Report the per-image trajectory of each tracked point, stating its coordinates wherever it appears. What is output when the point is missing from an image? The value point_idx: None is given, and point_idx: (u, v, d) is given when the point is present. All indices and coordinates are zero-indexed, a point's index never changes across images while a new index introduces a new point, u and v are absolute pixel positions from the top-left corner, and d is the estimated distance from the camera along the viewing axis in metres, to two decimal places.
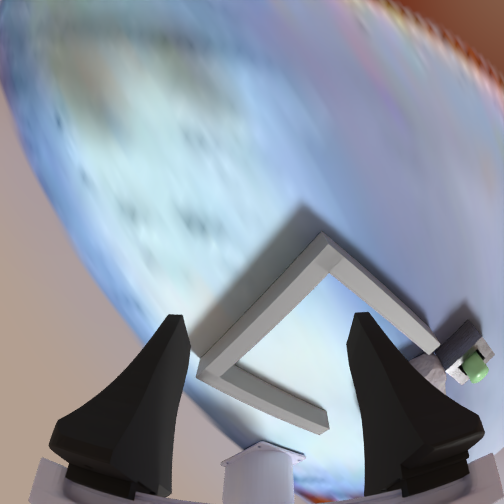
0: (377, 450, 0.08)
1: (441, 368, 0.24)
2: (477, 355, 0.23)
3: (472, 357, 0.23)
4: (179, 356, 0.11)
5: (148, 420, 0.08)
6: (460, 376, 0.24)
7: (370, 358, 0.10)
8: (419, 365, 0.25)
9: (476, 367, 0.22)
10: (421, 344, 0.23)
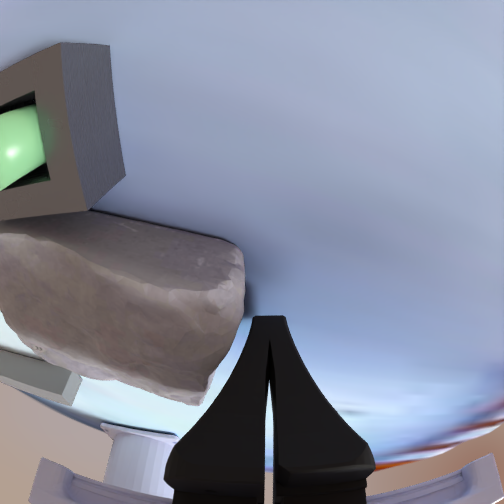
0: (274, 460, 0.08)
1: None
2: None
3: None
4: (269, 358, 0.11)
5: None
6: (36, 197, 0.08)
7: (272, 364, 0.10)
8: None
9: None
10: None
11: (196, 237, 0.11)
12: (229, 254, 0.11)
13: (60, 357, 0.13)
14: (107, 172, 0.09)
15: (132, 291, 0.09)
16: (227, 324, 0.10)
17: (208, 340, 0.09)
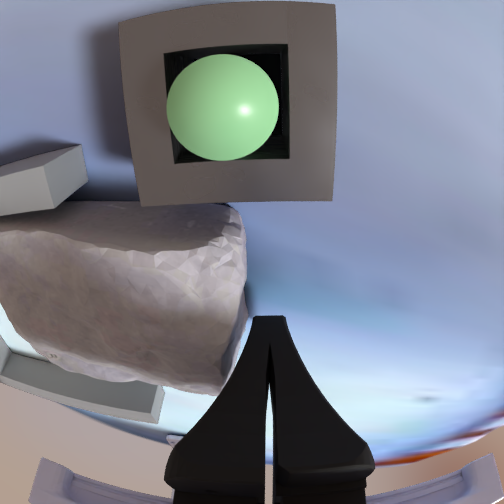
0: (273, 460, 0.08)
1: None
2: None
3: None
4: None
5: None
6: (254, 178, 0.07)
7: (271, 364, 0.10)
8: None
9: None
10: (13, 205, 0.08)
11: (187, 204, 0.10)
12: (223, 214, 0.10)
13: (75, 362, 0.13)
14: None
15: (117, 262, 0.08)
16: (227, 286, 0.09)
17: (207, 307, 0.09)
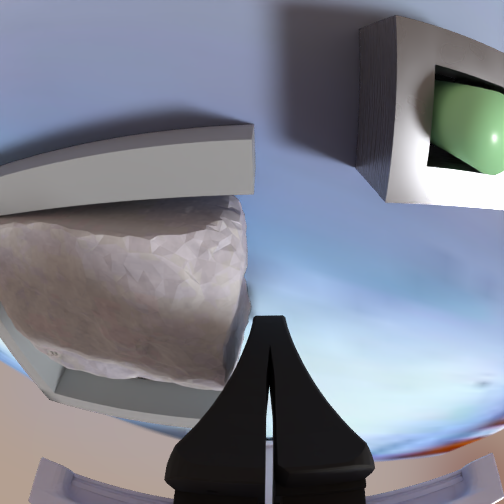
0: None
1: None
2: (445, 84, 0.06)
3: None
4: None
5: None
6: (475, 188, 0.07)
7: (271, 364, 0.10)
8: None
9: (455, 114, 0.05)
10: (175, 187, 0.08)
11: None
12: (221, 200, 0.10)
13: (76, 359, 0.13)
14: None
15: (113, 249, 0.08)
16: (226, 271, 0.08)
17: (207, 293, 0.08)
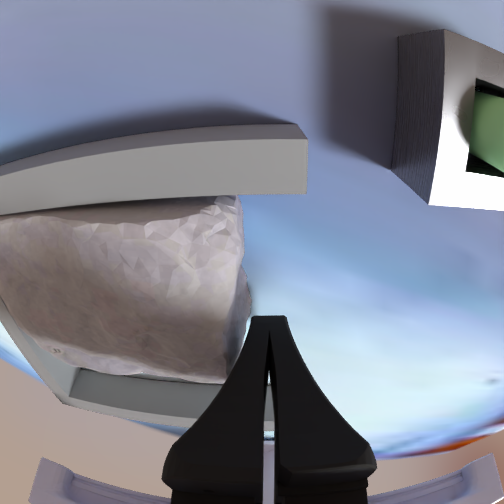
0: (275, 460, 0.08)
1: None
2: (479, 95, 0.06)
3: None
4: (268, 358, 0.11)
5: None
6: (503, 192, 0.07)
7: (273, 364, 0.10)
8: None
9: (493, 125, 0.05)
10: (227, 184, 0.08)
11: None
12: None
13: (79, 356, 0.13)
14: None
15: (108, 236, 0.08)
16: (221, 255, 0.08)
17: (202, 278, 0.08)
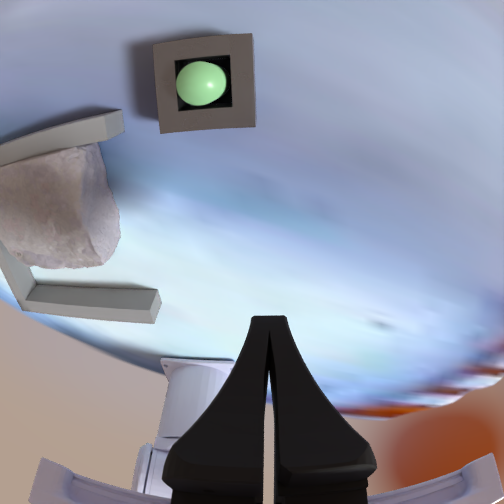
0: (275, 460, 0.08)
1: None
2: None
3: None
4: (268, 358, 0.11)
5: None
6: (216, 117, 0.14)
7: (273, 364, 0.10)
8: None
9: None
10: (78, 140, 0.15)
11: None
12: None
13: (30, 255, 0.20)
14: None
15: (34, 164, 0.15)
16: (73, 166, 0.15)
17: (66, 178, 0.15)
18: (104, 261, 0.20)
